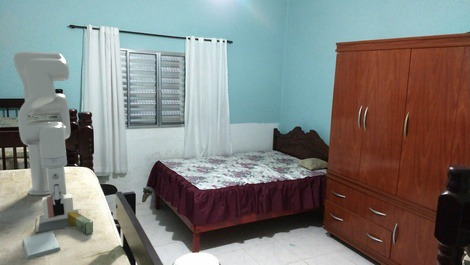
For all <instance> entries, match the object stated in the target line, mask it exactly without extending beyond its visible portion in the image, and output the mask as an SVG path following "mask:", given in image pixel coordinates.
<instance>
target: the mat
mask: <svg viewBox="0 0 470 265" xmlns="http://www.w3.org/2000/svg"><path fill="white" fill-rule="evenodd" d="M73 211H76V212H77V213H79V214H81V215H82V211H81V208H78V209H73ZM68 228H74V227H73V226H71V225H70V224H68V216H67V215H64V216H58V217H53V218H47V219H44V214H42V215H37V216H36V225H35V235H37V234H44V233H48V232H53V231H59V230H63V229H68Z"/></svg>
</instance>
